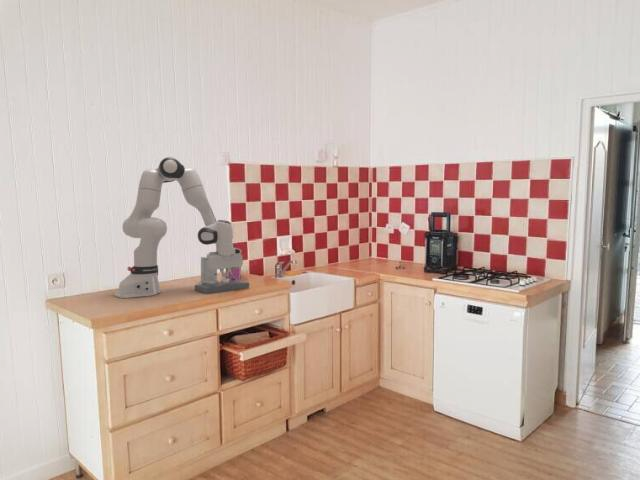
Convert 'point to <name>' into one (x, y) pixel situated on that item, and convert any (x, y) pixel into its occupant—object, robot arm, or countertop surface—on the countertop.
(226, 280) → the cream button
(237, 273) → the gum box
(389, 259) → the countertop surface
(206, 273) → the skincare box
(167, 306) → the countertop surface
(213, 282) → the grey button
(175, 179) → the robot arm
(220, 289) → the panel
